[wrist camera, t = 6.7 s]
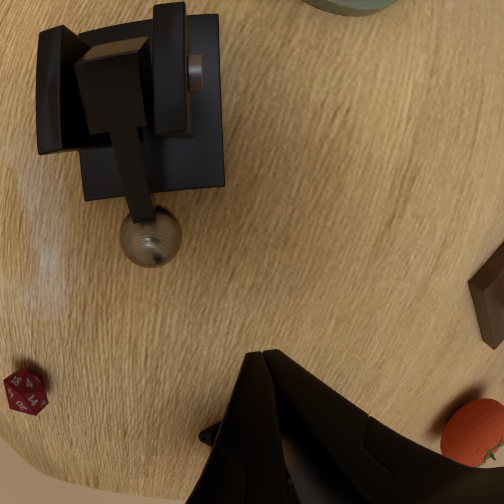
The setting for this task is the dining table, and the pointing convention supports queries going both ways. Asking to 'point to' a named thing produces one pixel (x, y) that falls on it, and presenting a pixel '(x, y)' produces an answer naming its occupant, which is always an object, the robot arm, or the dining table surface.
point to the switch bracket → (164, 102)
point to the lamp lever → (129, 142)
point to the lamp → (352, 6)
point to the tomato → (474, 432)
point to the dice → (26, 392)
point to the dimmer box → (490, 298)
